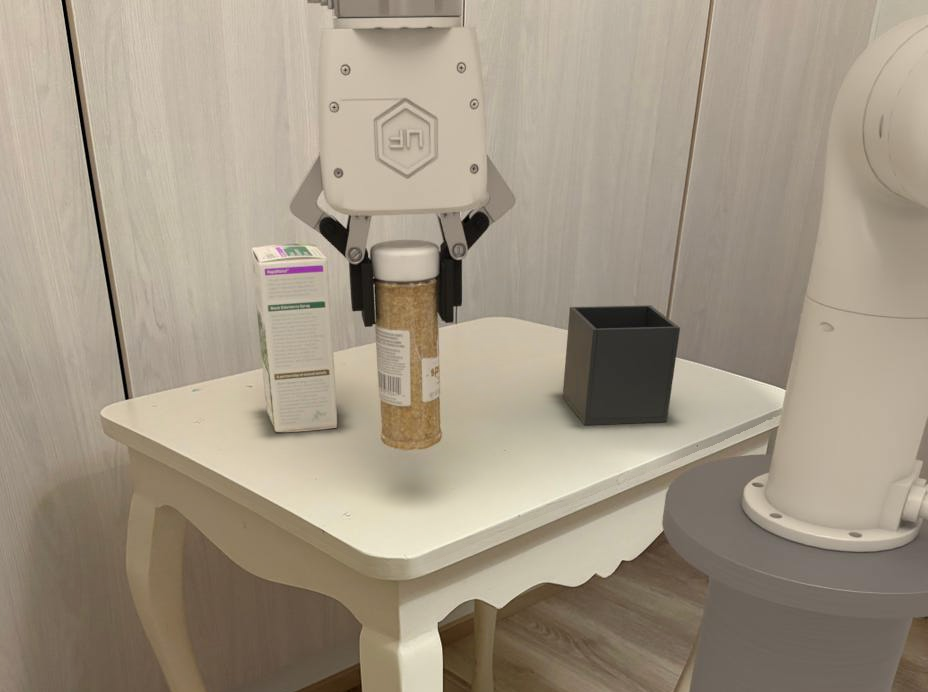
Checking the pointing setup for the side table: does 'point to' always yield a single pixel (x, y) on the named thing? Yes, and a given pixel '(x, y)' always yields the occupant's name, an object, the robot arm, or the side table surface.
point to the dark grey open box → (619, 364)
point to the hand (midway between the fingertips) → (406, 316)
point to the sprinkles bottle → (407, 342)
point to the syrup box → (295, 336)
